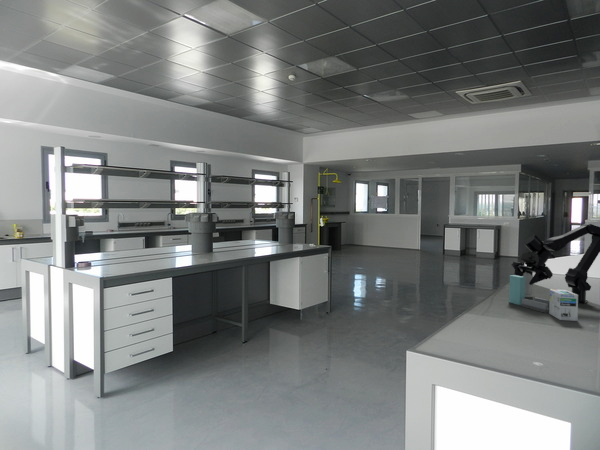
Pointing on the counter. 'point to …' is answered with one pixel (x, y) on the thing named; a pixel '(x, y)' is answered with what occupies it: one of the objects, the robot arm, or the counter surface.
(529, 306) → the floor track
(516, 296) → the teal rectangular block
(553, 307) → the light bulb box
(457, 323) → the counter surface
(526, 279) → the glass holder
